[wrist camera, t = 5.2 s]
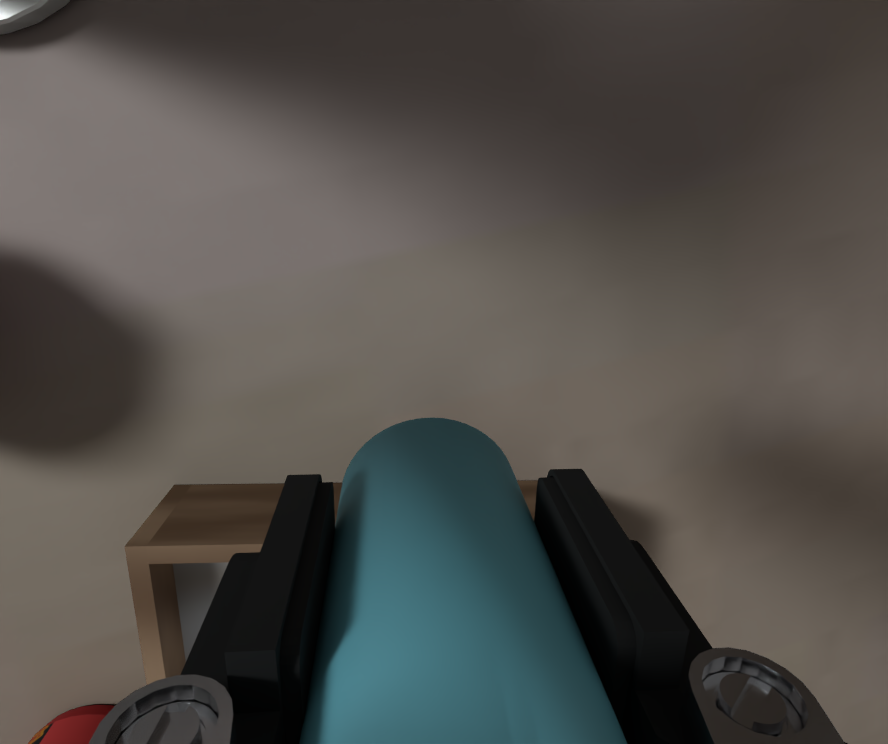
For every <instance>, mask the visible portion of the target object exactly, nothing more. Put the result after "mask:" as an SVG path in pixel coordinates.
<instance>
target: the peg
mask: <svg viewBox="0 0 888 744" xmlns="http://www.w3.org/2000/svg"><path fill="white" fill-rule="evenodd" d="M299 744H627V741H626V739H625V736H624V734H623V732H622V729H621V727H620V725H619V722H618V720H617V717H616V715H615V713H614V710H613V708H612V706H611V703H610V701H609V698H608V696H607V694H606V691H605V689H604V687H603V684H602V682H601V679H600V677H599V675H598V672H597V670H596V668H595V665H594V663H593V660H592V658H591V656H590V653H589V651H588V649H587V646H586V644H585V641H584V639H583V637H582V634H581V632H580V630H579V627H578V625H577V622H576V620H575V618H574V615H573V613H572V611H571V608H570V606H569V603H568V601H567V599H566V596H565V594H564V592H563V589H562V587H561V584H560V582H559V580H558V577H557V575H556V573H555V570H554V568H553V565H552V563H551V561H550V558H549V556H548V554H547V551H546V549H545V546H544V544H543V542H542V539H541V537H540V535H539V532H538V530H537V527H536V525H535V523H534V520H533V518H532V516H531V513H530V511H529V508H528V506H527V504H526V501H525V499H524V497H523V494H522V492H521V489H520V487H519V485H518V482H517V480H516V478H515V475H514V473H513V470H512V468H511V466H510V464H509V462H508V460H507V458H506V456H505V455H504V453H503V452H502V450H501V449H500V448H499V447H498V446H497V444H496V443H495V442H494V441H493V440H491V439H490V438H489V437H488V436H487V435H485V434H484V433H482V432H481V431H479V430H478V429H476V428H474V427H472V426H469V425H467V424H465V423H461V422H458V421H455V420H450V419H444V418H419V419H414V420H409V421H405V422H402V423H399V424H396V425H393V426H391V427H389V428H387V429H385V430H383V431H382V432H380V433H378V434H377V435H375V436H374V437H373V438H371V439H370V440H369V441H368V442H367V443H365V444H364V446H363V447H362V448H361V449H360V450H359V451H358V452H357V453H356V455H355V456H354V458H353V459H352V461H351V462H350V464H349V466H348V468H347V470H346V473H345V476H344V479H343V483H342V488H341V493H340V500H339V506H338V512H337V518H336V524H335V534H334V540H333V546H332V552H331V558H330V564H329V570H328V576H327V582H326V589H325V595H324V601H323V607H322V613H321V619H320V625H319V631H318V638H317V644H316V650H315V656H314V662H313V668H312V674H311V680H310V686H309V693H308V699H307V705H306V711H305V717H304V723H303V726H302V731H301V737H300V742H299Z"/></svg>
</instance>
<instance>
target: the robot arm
mask: <svg viewBox="0 0 888 744" xmlns="http://www.w3.org/2000/svg"><path fill="white" fill-rule="evenodd" d="M69 1H70V0H0V34H8V33H11V32H14V31H17V30H20V29H23V28H25V27H28V26H31V25H34V24H37V23H39V22H41V21H42V20H44V19H45V18H47V17H48V16H50V15H52V14H53V13H55V12H56V11H58V10H59V9H61V8H62V7H64V6H65V5H66V4H67V3H68V2H69ZM534 523H535V525H536V527H537V530H538V532H539V535H540V537H541V539H542V542H543V544H544V546H545V549H546V551H547V554H548V556H549V558H550V561H551V563H552V565H553V568H554V570H555V573H556V575H557V577H558V580H559V582H560V584H561V587H562V589H563V592H564V594H565V596H566V599H567V601H568V603H569V606H570V608H571V611H572V613H573V615H574V618H575V620H576V622H577V625H578V627H579V630H580V632H581V634H582V637H583V639H584V641H585V644H586V646H587V649H588V651H589V653H590V656H591V658H592V660H593V663H594V665H595V668H596V670H597V672H598V675H599V677H600V679H601V682H602V684H603V687H604V689H605V691H606V694H607V696H608V698H609V701H610V703H611V706H612V708H613V710H614V713H615V715H616V717H617V720H618V722H619V725H620V727H621V729H622V732H623V734H624V736H625V739H626V741H627V744H847V743H845V742H844V741H843V739H842V738H841V736H840V735H839V733H838V732H837V730H836V729H835V727H834V726H833V724H832V723H831V721H830V719H829V718H828V716H827V715H826V713H825V712H824V710H823V709H822V707H821V706H820V704H819V702H818V701H817V699H816V698H815V697H814V695H813V694H812V693H811V692H810V691H809V689H808V688H807V687H806V686H805V685H804V683H803V682H802V681H800V680H799V679H798V678H797V677H796V676H794V675H793V674H792V673H791V672H789V671H788V670H787V669H786V668H784V667H782V666H780V665H779V664H777V663H775V662H773V661H772V660H770V659H768V658H766V657H763V656H761V655H758V654H755V653H752V652H750V651H747V650H741V649H735V648H729V647H728V648H712V647H711V645H710V644H709V642H708V641H707V639H706V638H705V637H704V635H703V634H702V632H701V631H700V629H699V628H698V626H697V625H696V623H695V622H694V621H693V619H692V618H691V616H690V615H689V613H688V612H687V610H686V609H685V608H684V606H683V605H682V603H681V602H680V600H679V599H678V597H677V596H676V594H675V593H674V592H673V590H672V589H671V587H670V586H669V584H668V583H667V581H666V580H665V578H664V577H663V576H662V574H661V573H660V571H659V570H658V568H657V567H656V565H655V564H654V562H653V561H652V560H651V558H650V557H649V555H648V554H647V552H646V551H645V549H644V548H643V547H642V546H641V545H640V543H639V542H637V541H634V540H629V539H628V537H627V536H626V534H625V533H624V531H623V530H622V528H621V527H620V525H619V524H618V522H617V521H616V519H615V518H614V516H613V515H612V513H611V512H610V510H609V509H608V507H607V506H606V504H605V503H604V501H603V500H602V498H601V497H600V495H599V494H598V492H597V490H596V489H595V487H594V486H593V484H592V483H591V481H590V480H589V478H588V477H587V475H586V474H585V472H584V471H583V470H582V469H552V470H550V471H549V472H548V475H547V478H539V479H538V482H537V492H536V504H535V516H534ZM334 534H335V510H334V488H333V482H326V483H322V478H321V475H320V474H315V475H288V476H287V478H286V481H285V484H284V487H283V489H282V492H281V495H280V498H279V501H278V503H277V506H276V509H275V512H274V515H273V517H272V520H271V523H270V526H269V529H268V531H267V534H266V537H265V540H264V543H263V545H262V548H261V551H260V552H251V553H235V554H234V555H232V557H231V559H230V561H229V563H228V565H227V568H226V570H225V572H224V575H223V577H222V579H221V581H220V584H219V586H218V588H217V591H216V593H215V595H214V598H213V600H212V602H211V605H210V607H209V609H208V612H207V614H206V616H205V619H204V621H203V623H202V626H201V628H200V630H199V633H198V635H197V637H196V640H195V642H194V644H193V647H192V649H191V651H190V654H189V656H188V658H187V661H186V663H185V665H184V668H183V670H182V672H181V675H175V676H172V677H168V678H164V679H161V680H157V681H154V682H152V683H150V684H148V685H146V686H144V687H142V688H140V689H138V690H136V691H134V692H133V693H131V694H130V695H129V696H127V697H126V698H125V699H123V700H122V701H120V702H119V703H118V704H116V705H115V706H114V707H113V709H112V710H111V711H110V712H109V713H108V714H107V715H106V716H105V717H104V718H103V720H102V721H101V722H100V723H99V725H98V727H97V729H96V731H95V732H94V734H93V736H92V738H91V740H90V742H89V744H299V742H300V737H301V731H302V726H303V723H304V717H305V711H306V705H307V699H308V693H309V686H310V680H311V674H312V668H313V662H314V656H315V650H316V644H317V638H318V631H319V625H320V619H321V613H322V607H323V601H324V595H325V589H326V582H327V576H328V570H329V564H330V558H331V552H332V546H333V540H334Z"/></svg>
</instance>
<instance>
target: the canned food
mask: <svg viewBox="0 0 888 744" xmlns="http://www.w3.org/2000/svg"><path fill="white" fill-rule="evenodd" d="M113 707H114V706H113V705H91V706H83V707H79V708H75V709H72V710H69V711H67V712H65V713H63V714H61V715H59V716H57V717H56V718H55V719H53V720H52V721H51V722H49V723H48V724H47V725H46V726H45V727H44V728H42V729H41V730H40V731H39V732H38V733H36V734H35V735H34V737H33V738H32V739H31V741H30V742H29V743H28V744H89V742H90V740H91V738H92V736H93V734H94V732H95V731H96V729H97V727H98V725H99V723H100V722H101V721H102V720H103V718H104V717H105V716H106V715H107V714H108V713H109V712H110V711H111V710H112V709H113Z"/></svg>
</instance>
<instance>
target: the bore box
mask: <svg viewBox="0 0 888 744" xmlns="http://www.w3.org/2000/svg"><path fill="white" fill-rule="evenodd" d="M517 482H518V485H519V487H520V489H521V492H522V494H523V497H524V499H525V501H526V504H527V506H528V508H529V511H530V513H531V516H532V518H533V520H534V516H535V504H536V492H537V482H538V481H517ZM283 487H284V484H208V485H174V486H173V487H172V488H171V490H170V491H169V492H168V493H167V495H166V496H165V497H164V498H163V500H162V501H161V502H160V503H159V505H158V506H157V507H156V508H155V510H154V511H153V512H152V513H151V515H150V516H149V517H148V518H147V520H146V521H145V522H144V523H143V524H142V526H141V527H140V528H139V529H138V531H137V532H136V533H135V534H134V536H133V537H132V538H131V539H130V541H129V542H128V543H127V544H126V546H125V552H126V558H127V564H128V571H129V577H130V583H131V589H132V595H133V602H134V608H135V614H136V620H137V627H138V633H139V639H140V645H141V651H142V658H143V664H144V670H145V676H146V683H147V685H148V684H150V683H152V682H154V681H157V680H161V679H164V678H168V677H172V676H175V675H181V672H182V670H183V668H184V665H185V663H186V661H187V658H188V656H189V654H190V651H191V649H192V647H193V644H194V642H195V640H196V637H197V635H198V633H199V630H200V628H201V626H202V623H203V621H204V619H205V616H206V614H207V612H208V609H209V607H210V605H211V602H212V600H213V598H214V595H215V593H216V591H217V588H218V586H219V584H220V581H221V579H222V577H223V575H224V572H225V570H226V568H227V565H228V563H229V561H230V559H231V557H232V555H234V554H235V553H251V552H260V551H261V548H262V545H263V543H264V540H265V537H266V534H267V531H268V529H269V526H270V523H271V520H272V517H273V515H274V512H275V509H276V506H277V503H278V501H279V498H280V495H281V492H282V489H283ZM333 488H334V510H335V524H336V518H337V512H338V506H339V500H340V493H341V488H342V483H333Z"/></svg>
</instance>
